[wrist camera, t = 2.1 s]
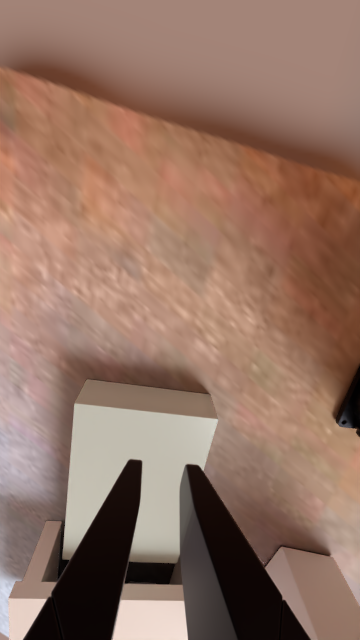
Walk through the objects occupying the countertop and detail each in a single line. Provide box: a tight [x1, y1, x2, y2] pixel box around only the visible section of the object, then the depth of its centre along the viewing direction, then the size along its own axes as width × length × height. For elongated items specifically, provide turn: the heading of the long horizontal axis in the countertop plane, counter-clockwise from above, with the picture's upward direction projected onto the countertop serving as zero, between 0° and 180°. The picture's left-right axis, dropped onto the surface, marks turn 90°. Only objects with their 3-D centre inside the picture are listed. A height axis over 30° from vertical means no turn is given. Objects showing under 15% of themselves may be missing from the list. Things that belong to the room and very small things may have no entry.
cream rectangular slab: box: [62, 379, 218, 563], centre depth 21 cm, size 16×10×3 cm, turn 169°
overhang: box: [9, 521, 188, 640], centre depth 24 cm, size 11×16×6 cm
